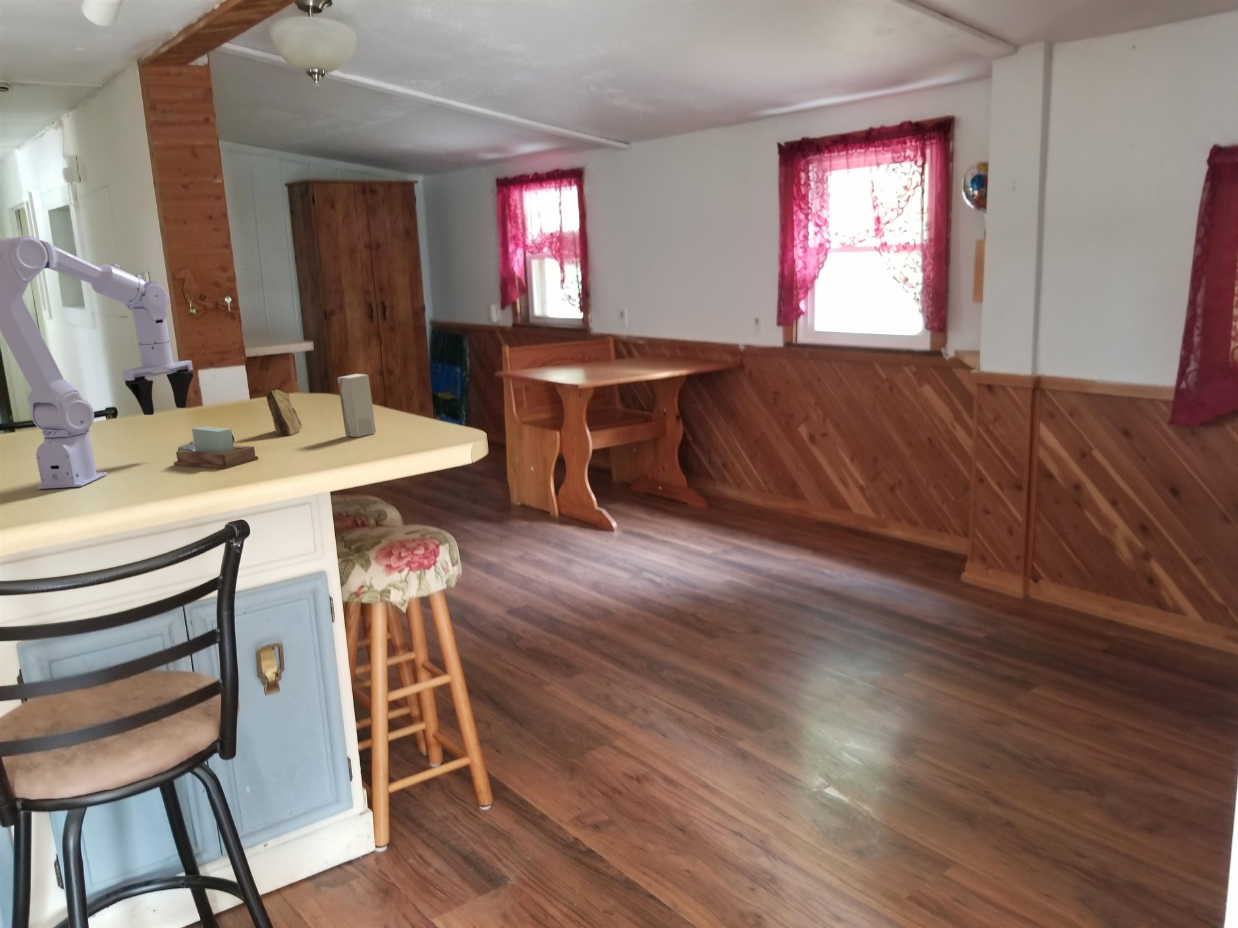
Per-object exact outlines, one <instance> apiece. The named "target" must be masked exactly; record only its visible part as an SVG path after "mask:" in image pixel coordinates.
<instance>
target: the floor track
mask: <svg viewBox="0 0 1238 928" xmlns="http://www.w3.org/2000/svg"><path fill="white" fill-rule="evenodd" d="M175 453H176V454H175V455H176V460H177V461H173V465H174V466H184V467H194V468H207V469H210V468H211V469H220V470H221V469H222V470H223V469H225V470H226V469H227V470H228V469H229V468H234V467H236V466H237V467H238V466H239V465H243V464H247V463H250V462H253V461H258V460H259V456H256V450H255V446H245V445H234V451H232V452H229V453H217V452H201V451H196V450H184V449H183V450H182V449H181V450H176V451H175Z"/></svg>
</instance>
